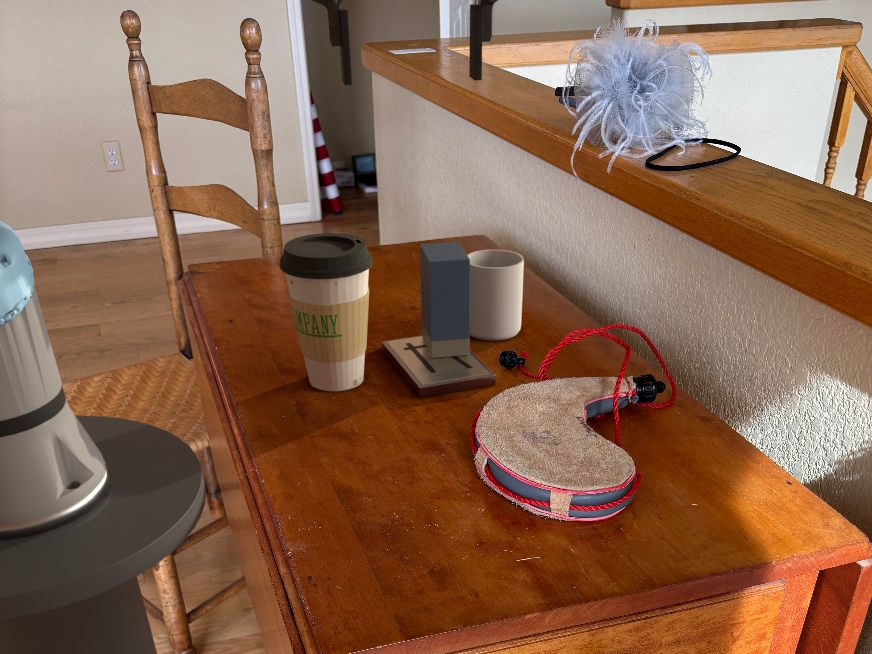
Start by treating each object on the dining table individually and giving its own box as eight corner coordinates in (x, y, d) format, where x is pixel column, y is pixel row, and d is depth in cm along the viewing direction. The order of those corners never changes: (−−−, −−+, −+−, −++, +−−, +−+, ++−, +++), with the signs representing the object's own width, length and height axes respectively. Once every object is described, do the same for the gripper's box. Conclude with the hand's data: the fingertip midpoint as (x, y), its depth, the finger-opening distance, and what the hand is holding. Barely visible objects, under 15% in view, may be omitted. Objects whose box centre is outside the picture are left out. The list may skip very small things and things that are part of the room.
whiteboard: (420, 397, 102) (419, 386, 101) (382, 350, 113) (381, 340, 112) (495, 384, 105) (495, 373, 104) (451, 340, 115) (451, 329, 114)
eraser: (431, 358, 107) (429, 261, 101) (422, 337, 112) (419, 244, 106) (469, 355, 108) (470, 259, 101) (458, 334, 113) (458, 241, 106)
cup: (476, 344, 114) (477, 271, 108) (448, 317, 121) (447, 247, 116) (530, 336, 116) (533, 263, 110) (498, 309, 123) (500, 240, 118)
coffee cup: (285, 369, 108) (268, 237, 99) (366, 357, 111) (357, 227, 102) (304, 404, 101) (288, 264, 92) (390, 390, 104) (383, 253, 95)
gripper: (528, -182, 89) (518, 71, 102) (264, -184, 85) (289, 79, 98) (549, -187, 83) (536, 82, 96) (267, -189, 79) (293, 90, 92)
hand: (411, 81), depth 97 cm, fingers open, 13 cm apart
